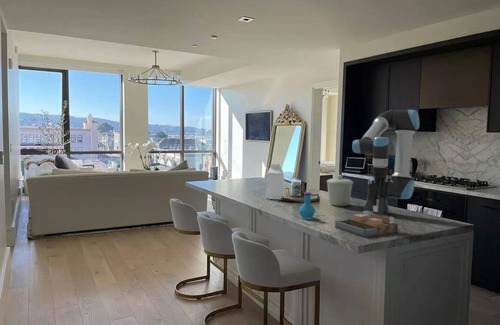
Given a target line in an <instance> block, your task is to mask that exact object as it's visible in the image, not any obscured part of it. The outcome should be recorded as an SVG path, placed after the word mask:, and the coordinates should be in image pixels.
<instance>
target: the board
mask: <svg viewBox="0 0 500 325" xmlns="http://www.w3.org/2000/svg"><path fill="white" fill-rule="evenodd" d="M368 219H370V218H367V221H357V220H353V217H352V218H347V220H348V225H352V226H355V227H358V228H361V229H364V230H366V229H373V228H377V236H379V235H386V234H392V233H393V232H394V233H398V231H399V230H398V229H399V224H398V223H395V222H394V223H391V224H389V223H385V222H382V225H377V226H374V225H371V224H368Z"/></svg>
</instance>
